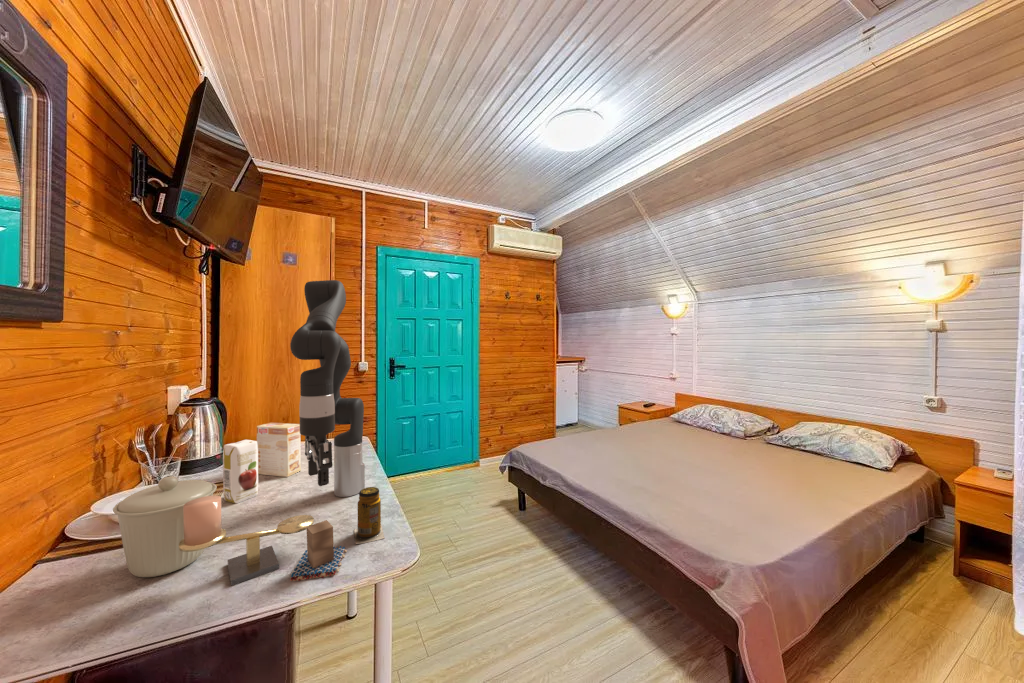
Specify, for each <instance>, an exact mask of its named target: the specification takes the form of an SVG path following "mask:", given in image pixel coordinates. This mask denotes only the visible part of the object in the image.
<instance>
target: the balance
mask: <svg viewBox="0 0 1024 683" xmlns="http://www.w3.org/2000/svg"><path fill="white" fill-rule="evenodd" d="M314 520H315V519H314V517H313V516H312V515H309V514H301V515H300V514H299V515H295V516H290V517H288V518H286V519H284V520H282V521H280V522H279V523H278V524H277V526H276V528H273V529H268V530H261V531H255V532H249V533H242V534H237V535H236V534H235V535H232V536H227V531H226V529H225V528H222V534H221V535H220V536H219V537H218V538H216V539H214V540H212V541H210V542H207V543H204V544H201V545H195V546H187V545H185V544H184V539H183V540H181V541H180V543H179V550H180V551H183V552H192V551H198V550H202V549H204V550H205V549H208V548H210V547H213V546H216V545H220V544H222V545H223V544H228V543H233V542H239V541H244V540H245V551H246V552H245V554H240V555H238V556H235V557H231V558H229V559H227V569H228V576H229V581H230V586H232V587H233V586H235V585H237V584H241V583H242V582H243V583H244V582H245V581H249V580H251V579H255V578H257V577H259V576H262V575H265V574H268V573H270V572H273V571H277V570H279V569H280V562H279V560H278V558H277V555H276V552H275V550H274V548H273V545H270V546H266V547H264V548H261V546H260V544H261V542H260V539H261V537H262V538H263V537H268V536H273V535H278V534H279V535H280V534H281V535H291V534H292V535H293V534H297V533H301V532H303V531H305V530H306V531H307V527H308V526H311V525H314V522H315V521H314Z"/></svg>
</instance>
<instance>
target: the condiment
mask: <svg viewBox="0 0 1024 683" xmlns="http://www.w3.org/2000/svg"><path fill="white" fill-rule="evenodd" d="M358 496H359V497H358V501H357V528H355V529H353V530H354V531H353V532H354V542H355V545H358V544H359V545H360V544H364V543H365V544H366V543H367V544H368V543H370V542H375V541H380V540H382V539H385V534H384V530H383V526H382V522H381V521H382V519H381V518H382V515H381V514H382V513H381V512H382V511H381V507H382V506H381V505H382V504H381V502H382V501H381V498H380V489H379V488H378V487H377V486H369V487H365V488H364V489H362V490H361V491H360V492H359V493H358ZM377 535H378V536H377Z"/></svg>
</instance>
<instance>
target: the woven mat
mask: <svg viewBox="0 0 1024 683" xmlns="http://www.w3.org/2000/svg"><path fill="white" fill-rule="evenodd" d="M347 552H348V551H347V549H346V547H345V546H342V545H339V547H335V546H334V560H332V561H330V562H327V563H325V564H323V565H320V566H318V567H315V568H313V567H312V566H311V564H310V563H309V561H308V558H307V549H305V551H304V553H302V554H301V557H300V558H299V560H298V561H297V564H295V565H294V567H293V569H292V572H290V576H289V578H290V580H289V582H297V581H299V582H300V581H304V580H310V579H318V578H326V577H332V576H336V575H337V576H338V573H339V571H340V569H341V566H343V564H342V561H343V559H344V558H346V557H345V556H346V553H347ZM344 553H345V554H344Z"/></svg>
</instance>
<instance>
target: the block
mask: <svg viewBox="0 0 1024 683" xmlns="http://www.w3.org/2000/svg"><path fill="white" fill-rule="evenodd" d="M306 547H307V548H306V550H307V558H308V561H309V563H310V564H311V566H312V567H313V568H315V567H318V566H320V565H323V564H325V563H327V562H330V561H332V560H334V549H335V548H334V547H335V546H334V526H333V525H332V523H330V522H329V521H328V520H327V519H326V520H322V521H319V522H317V523H315V524H314V523H313V525H311V526H308V527H307V529H306Z"/></svg>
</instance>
